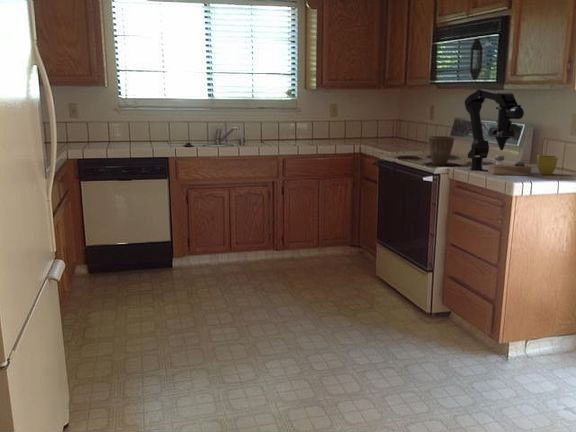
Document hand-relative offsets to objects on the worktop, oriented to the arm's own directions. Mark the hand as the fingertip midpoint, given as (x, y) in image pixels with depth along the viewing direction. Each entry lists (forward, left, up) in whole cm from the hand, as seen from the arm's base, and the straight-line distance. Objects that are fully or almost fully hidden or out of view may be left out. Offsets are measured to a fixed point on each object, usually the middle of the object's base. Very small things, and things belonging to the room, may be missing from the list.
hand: (501, 150), depth 274 cm
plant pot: (-43, -23, -12) cm, 50 cm away
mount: (0, +4, -12) cm, 13 cm away
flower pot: (0, +22, -12) cm, 25 cm away
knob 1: (0, -1, -9) cm, 9 cm away
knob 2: (0, +9, -11) cm, 15 cm away
